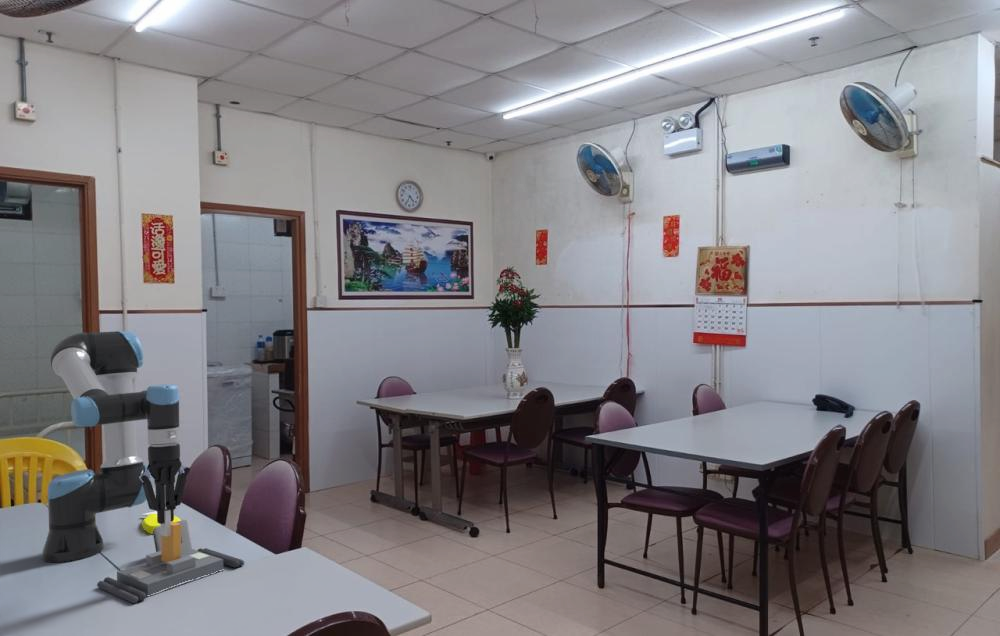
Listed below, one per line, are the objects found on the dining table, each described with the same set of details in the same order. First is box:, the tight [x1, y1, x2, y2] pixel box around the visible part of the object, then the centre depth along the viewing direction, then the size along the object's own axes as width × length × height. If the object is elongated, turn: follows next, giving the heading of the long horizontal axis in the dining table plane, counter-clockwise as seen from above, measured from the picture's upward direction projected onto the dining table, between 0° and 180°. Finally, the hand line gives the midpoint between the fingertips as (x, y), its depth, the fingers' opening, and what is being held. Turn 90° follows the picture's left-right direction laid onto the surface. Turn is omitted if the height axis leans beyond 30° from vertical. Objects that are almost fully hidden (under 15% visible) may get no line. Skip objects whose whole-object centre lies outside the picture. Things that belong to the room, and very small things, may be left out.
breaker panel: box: [116, 548, 224, 595], centre depth 180 cm, size 16×20×5 cm
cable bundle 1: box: [96, 576, 147, 604], centre depth 170 cm, size 19×3×2 cm, turn 53°
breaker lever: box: [161, 521, 181, 563], centre depth 180 cm, size 7×2×11 cm, turn 53°
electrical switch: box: [152, 519, 193, 552], centre depth 198 cm, size 9×5×9 cm, turn 141°
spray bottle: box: [140, 510, 182, 535], centre depth 229 cm, size 3×11×24 cm
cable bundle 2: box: [196, 547, 245, 569], centre depth 191 cm, size 19×3×2 cm, turn 53°
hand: (165, 535), depth 179 cm, fingers closed
